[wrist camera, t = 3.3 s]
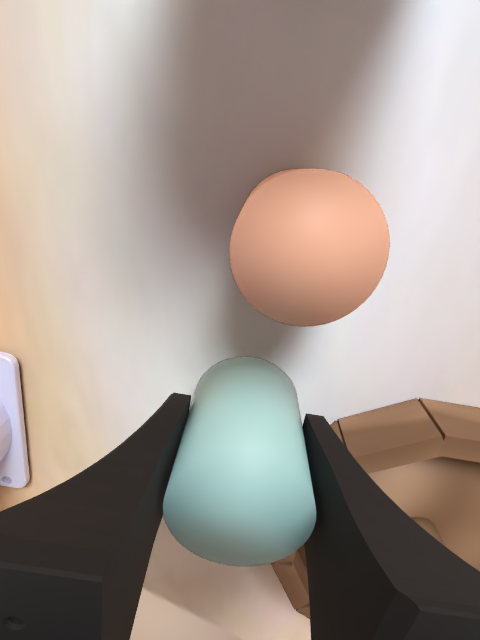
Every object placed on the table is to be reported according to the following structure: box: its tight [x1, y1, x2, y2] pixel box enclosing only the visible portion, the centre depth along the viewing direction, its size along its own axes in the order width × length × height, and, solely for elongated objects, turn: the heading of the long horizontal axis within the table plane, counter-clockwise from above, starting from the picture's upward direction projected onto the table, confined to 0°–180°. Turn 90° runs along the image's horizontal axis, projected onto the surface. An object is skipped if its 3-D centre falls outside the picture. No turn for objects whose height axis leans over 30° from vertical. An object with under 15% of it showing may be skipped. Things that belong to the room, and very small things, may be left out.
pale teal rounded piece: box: [163, 357, 316, 566], centre depth 12 cm, size 4×4×5 cm
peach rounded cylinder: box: [229, 169, 390, 326], centre depth 11 cm, size 4×4×5 cm
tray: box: [271, 398, 480, 619], centre depth 18 cm, size 14×14×2 cm
